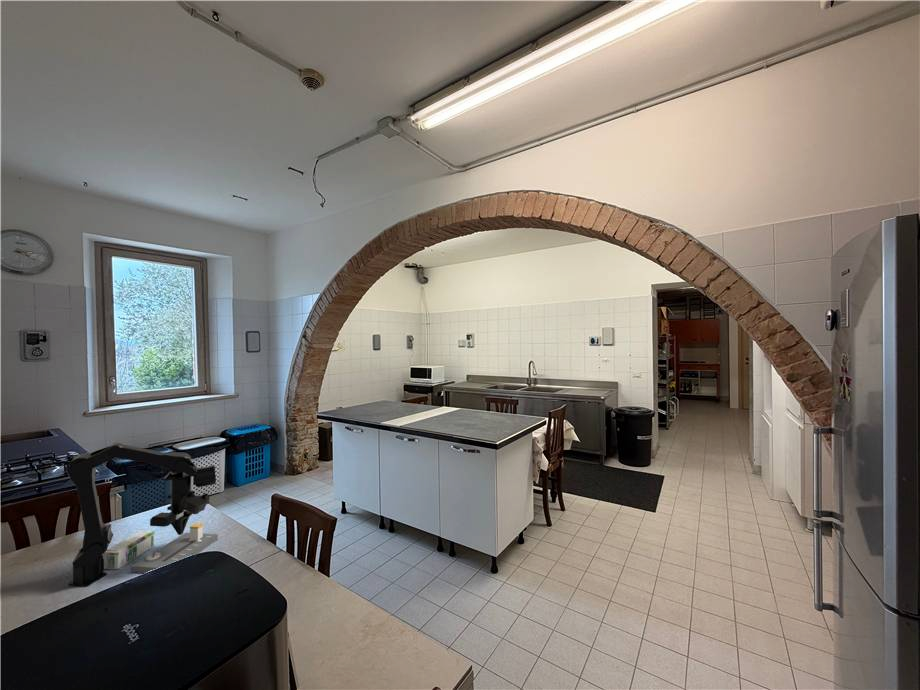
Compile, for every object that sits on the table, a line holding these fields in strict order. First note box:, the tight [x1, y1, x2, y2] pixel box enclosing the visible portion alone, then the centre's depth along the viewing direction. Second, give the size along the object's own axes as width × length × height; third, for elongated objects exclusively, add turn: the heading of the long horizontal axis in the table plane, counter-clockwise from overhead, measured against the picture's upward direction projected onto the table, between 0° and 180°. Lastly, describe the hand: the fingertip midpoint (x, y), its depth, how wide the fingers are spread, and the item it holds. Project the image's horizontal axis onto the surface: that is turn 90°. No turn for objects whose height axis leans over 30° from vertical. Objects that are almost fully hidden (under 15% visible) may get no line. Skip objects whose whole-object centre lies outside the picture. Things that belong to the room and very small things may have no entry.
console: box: [130, 532, 219, 574], centre depth 133 cm, size 22×13×3 cm, turn 175°
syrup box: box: [102, 530, 155, 570], centre depth 131 cm, size 6×6×14 cm
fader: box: [189, 522, 204, 540], centre depth 139 cm, size 3×3×5 cm
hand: (180, 534), depth 132 cm, fingers closed
